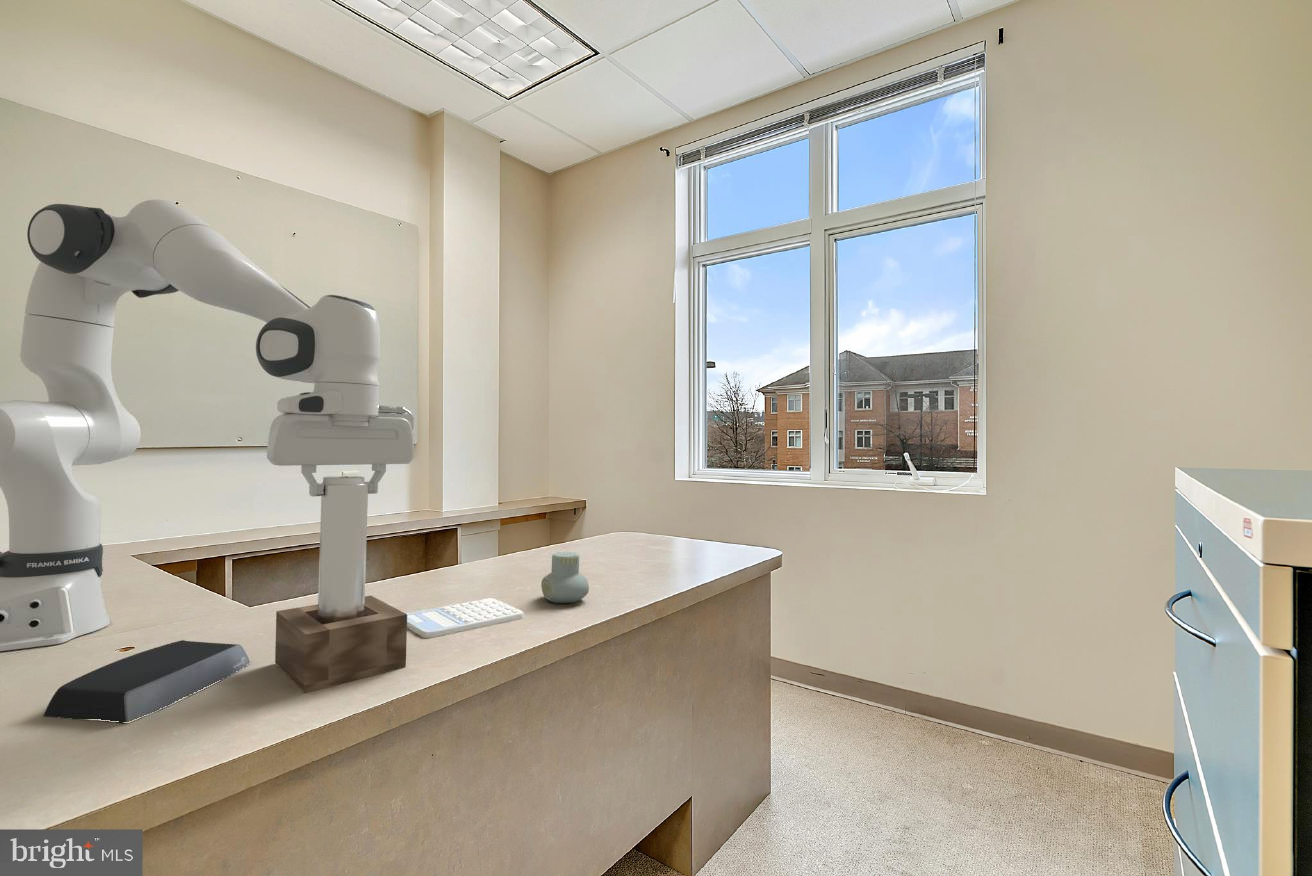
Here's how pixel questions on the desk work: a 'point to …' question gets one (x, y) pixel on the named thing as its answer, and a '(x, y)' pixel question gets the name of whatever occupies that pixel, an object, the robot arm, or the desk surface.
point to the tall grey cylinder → (342, 549)
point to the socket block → (339, 645)
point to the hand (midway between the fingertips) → (344, 494)
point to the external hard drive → (146, 681)
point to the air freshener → (565, 579)
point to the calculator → (461, 617)
